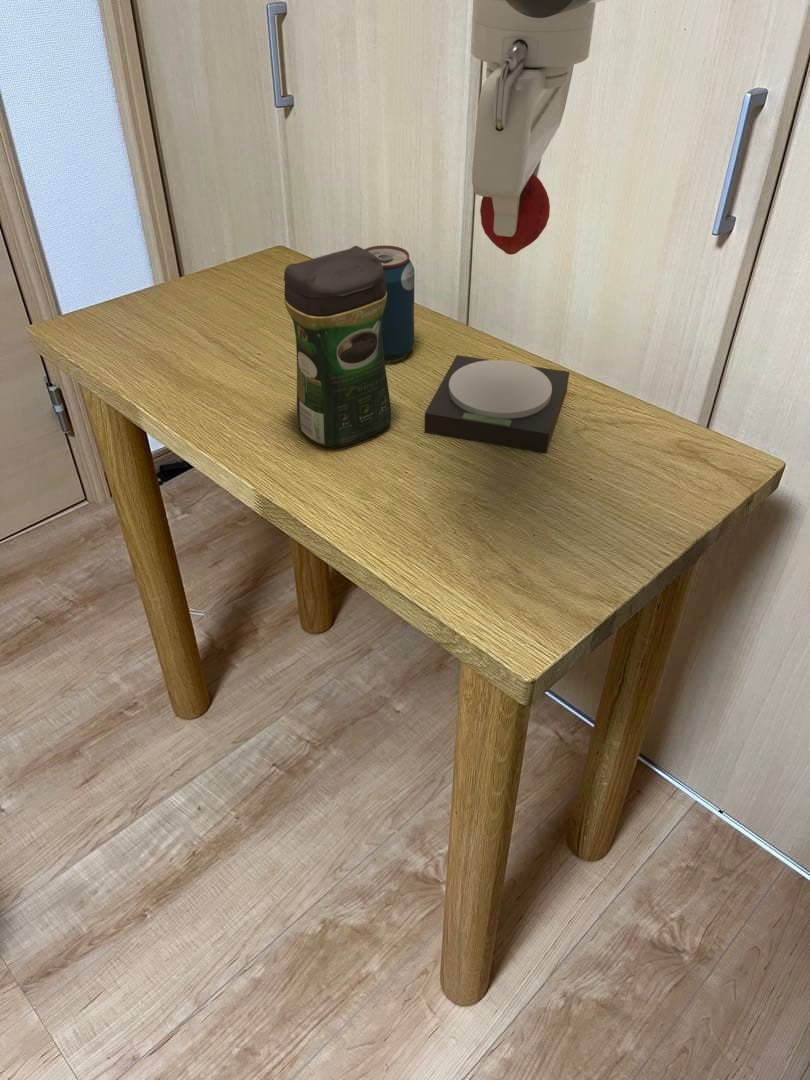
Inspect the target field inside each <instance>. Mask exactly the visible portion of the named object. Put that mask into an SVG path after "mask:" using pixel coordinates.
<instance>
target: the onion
mask: <svg viewBox="0 0 810 1080" xmlns="http://www.w3.org/2000/svg"><path fill="white" fill-rule="evenodd" d="M519 209H520V214H519V225H518V228H517V230H516V232H515V234H514V235H513V236H511V237H507V236H499V235H496V234H495V233H494V230H493V228H494V214H495V213H494V208H493V202H492V197H485V196H482V198H481V202H480V208H479V212H480V213H479V214H480V223H481V225H480V226H481V227H482V229H483V232H484V234H485V235H486V237H488V239H489V240H490V241H491V242H492V244H494V245H495V246H496V247H497V248H498V249H500V250H501V251H502V252H504V253H505V254H507V255H515V254H518V253H519V252H520V251H522V250H523V249H525V248H527V247H528V246H530V245H531V244H533V242H535V241H537V240H538V238H539V237H540V236H541V234H542V233H543V231H544V230H545V229H546V227H547V225H548V222H549V219H550V213H551V204H550V197H549V195H548V192H547V190H546V188H545V186H544V184H543V182H542V181H541V180H540V178H538V176H536V175H535V174H533V173H532V175H531V177H530V178H529V180H528V182H527V184H526V185H525V187H524V189H523V191H522V192H521V194H520V200H519Z"/></svg>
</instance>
